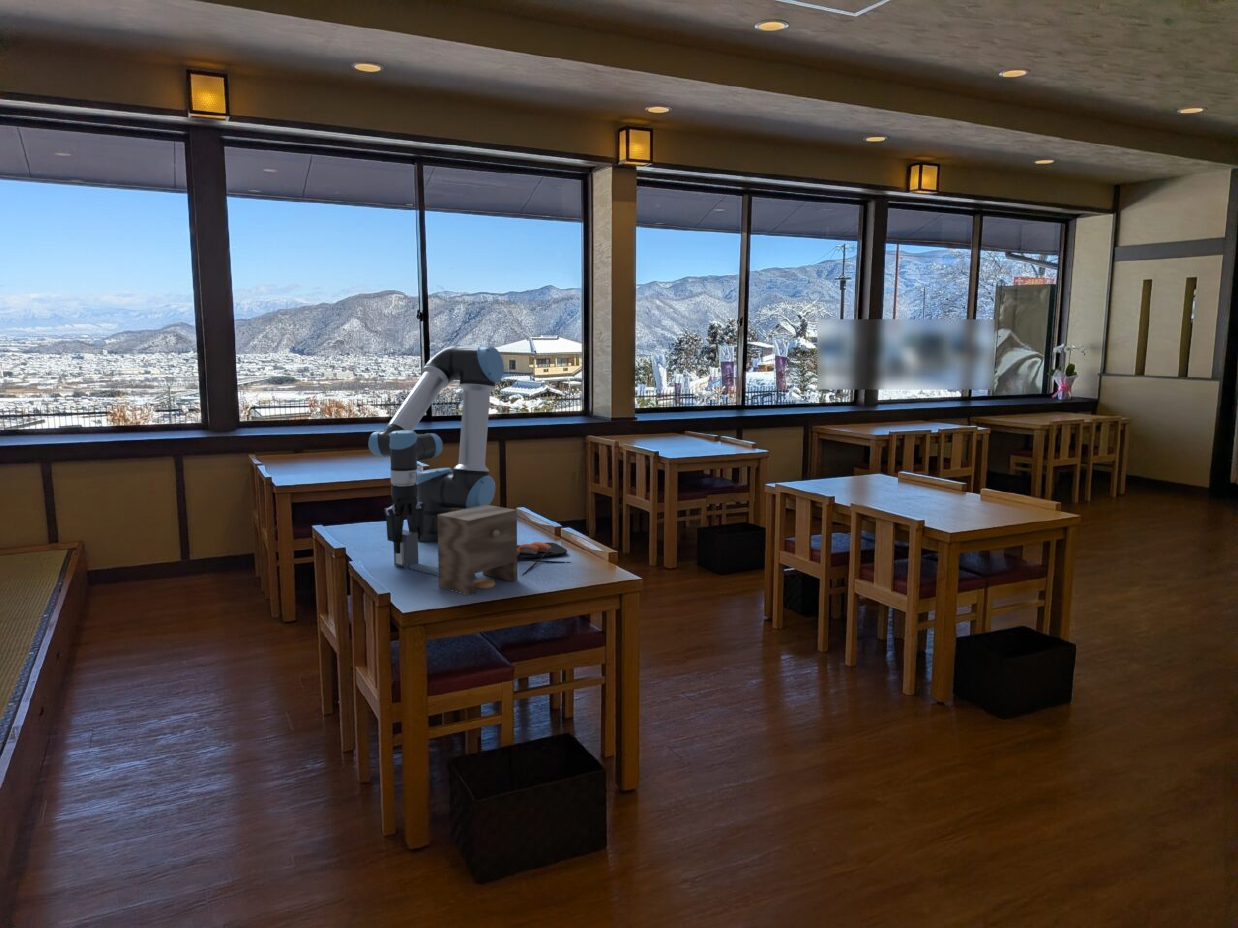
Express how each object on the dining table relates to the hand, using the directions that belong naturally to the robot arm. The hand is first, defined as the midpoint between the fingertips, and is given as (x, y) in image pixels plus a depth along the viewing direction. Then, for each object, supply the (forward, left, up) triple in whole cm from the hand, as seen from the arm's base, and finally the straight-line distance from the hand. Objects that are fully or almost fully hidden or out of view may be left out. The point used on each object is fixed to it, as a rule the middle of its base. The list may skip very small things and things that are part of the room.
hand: (406, 561), depth 252 cm
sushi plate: (+24, +26, -2) cm, 36 cm away
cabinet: (+30, 0, -1) cm, 30 cm away
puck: (+32, 0, -2) cm, 32 cm away
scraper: (+10, 0, -1) cm, 11 cm away
